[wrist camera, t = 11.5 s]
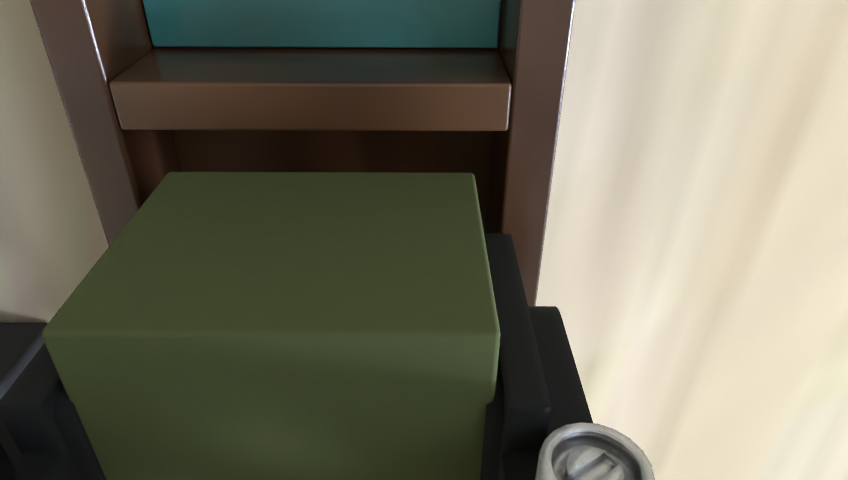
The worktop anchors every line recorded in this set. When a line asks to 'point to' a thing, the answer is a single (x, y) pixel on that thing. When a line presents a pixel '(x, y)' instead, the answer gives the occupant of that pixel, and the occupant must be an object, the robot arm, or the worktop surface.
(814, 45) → the worktop surface
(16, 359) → the dark grey block
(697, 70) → the worktop surface
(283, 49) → the brown divided tray
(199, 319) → the olive green block
